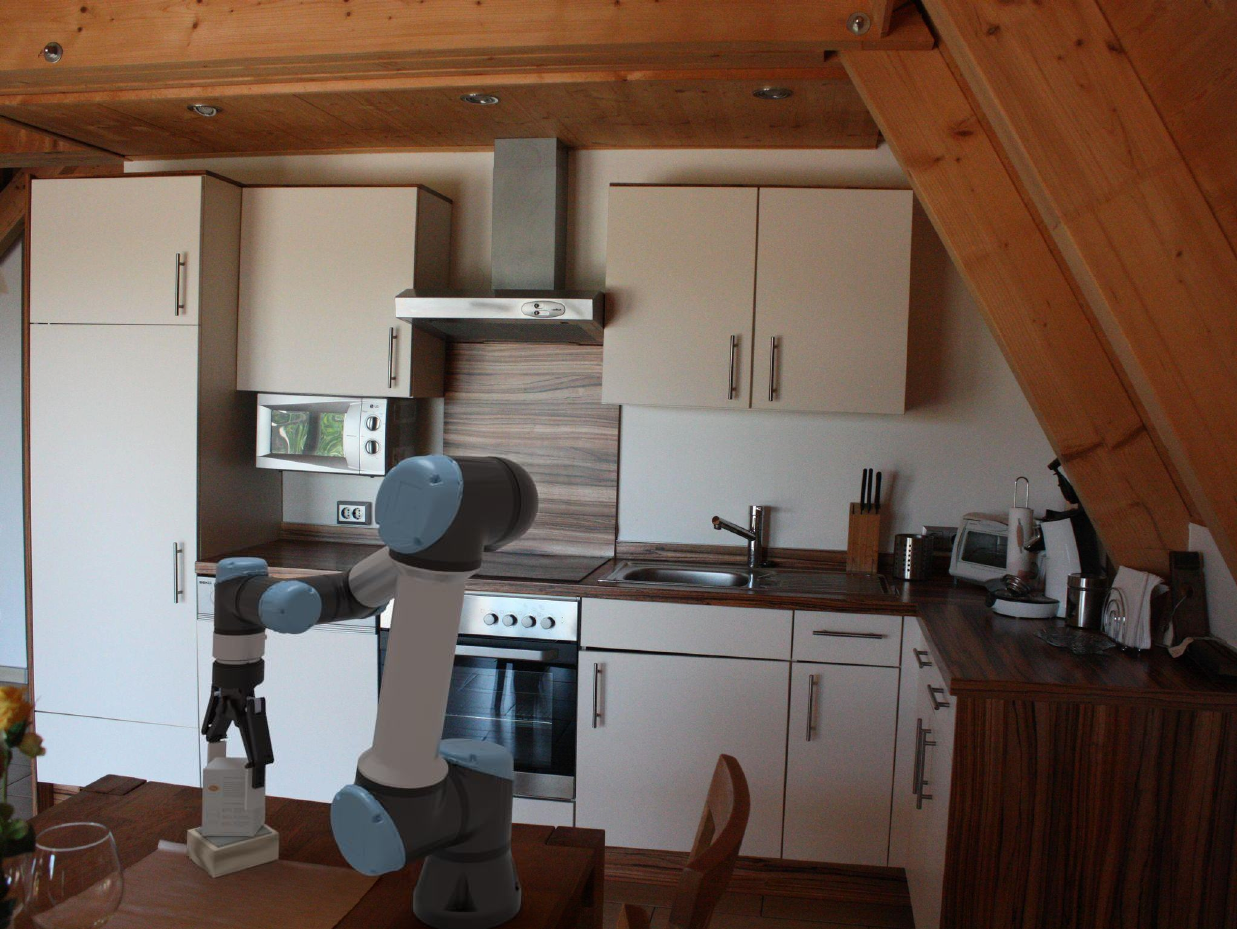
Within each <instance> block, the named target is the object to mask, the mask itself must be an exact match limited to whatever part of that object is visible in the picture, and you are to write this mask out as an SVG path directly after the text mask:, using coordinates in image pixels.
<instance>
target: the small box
mask: <svg viewBox="0 0 1237 929" xmlns="http://www.w3.org/2000/svg"><path fill="white" fill-rule="evenodd" d="M247 763H249V762H248V759H247V757H236V756H235V757H232V756H231V757H228V756H226V757H216V758H215V759H214V760H213V761H212V762H210V763H209V764H208V765H207V764H206V766H204V768H203V769H202V797H201V798H202V800H201V801H202V802H201V804H202V805H201V827H202V836H241V837H253V836H254V835H255V834H256V833H257V831H258V830H259V829H260V828H261V826H262V825H263V824H265V822H266V794H265V795H264V807H260V808H256V809H252V810H248V811H246V810H245V809H244V806H245V776H246V768H245V765H246V764H247ZM266 774H267V765H266V766H265V789H266V787H267V786H266V784H267V782H266V778H267V775H266Z"/></svg>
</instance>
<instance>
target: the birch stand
mask: <svg viewBox="0 0 1237 929" xmlns="http://www.w3.org/2000/svg"><path fill="white" fill-rule="evenodd" d="M186 832H187V833H186V857H188V856H189V857H188V858H189V859H190V860H191V859H192V860H191V861H192V862H194V864H196V865H197V866H198V867H200V869H202V870H203V871H205V872H206V873H207V874H208V875H209V876H211V877H212V879H214V878H218V877H221V876H226V875H229V874H233V873H236V872H239V871H243V870H246V869H249V868H252V867H256V866H259V865H262V864H268V863H269V862H273V861H276V860H279V847H280V832H278V831H276V830H275V829H273V828H272V827H271V826H269V825H268V824H266V823H264V824H263V825H262V826H261V828H260V829H259V830H258V831H257V833H256V834H255V835H254V836H253V837H241V836H202V826H198V827H194V828H191V829H187V831H186Z"/></svg>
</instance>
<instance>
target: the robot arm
mask: <svg viewBox="0 0 1237 929" xmlns="http://www.w3.org/2000/svg"><path fill="white" fill-rule="evenodd" d="M539 500H540V499H539V493H538V489H537V486H536V484H535V482H534V480H533V478H532V477H531V475H530V474H529V472H528V471H527V470H526V469H525V468H523V467H522V466H521V465H520V464H519V463H518V462H515V461H513V460H511V459H509V458H507V457H502V456H494V455H493V456H491V455H489V456H488V455H487V456H475V455H449V454H448V455H446V454H437V453H434V454H429V455H421V456H418V455H417V456H412V457H408V458H405V459H403V460H401V461H400V462H398V464H396V466H394V467H392V468H391V469H390V470H389V471H388V472H387V474H386V475H385V476H384V477H383V480H382V481H381V483H380V486H379V488H378V490H377V494H376V498H375V503H374V522H375V524H376V525H378V526H379V527H378V528H377V534H378V535H379V537H380V539H381V541H382V542H383V543H384V545H385V546H383V547H382V548H381V549H379V550H377V551H376V552H374V553H372V554H371V555H369V556H368V557H366V558H364V559H362V560H361V561H359V562H358V563H357V564H355V565H353V566H351V567H350V568H348V569H346V570H344V571H342V572H336V573H325V574H318V575H307V576H306V575H305V576H298V577H286V578H280V577H272V576H269V575H270V574H269V565H268V563H267V561H266V560H265V559H263V558H259V557H252V556H251V557H250V556H249V557H229V558H227V557H226V558H224V559H221V560H220V561H218V562H217V564H216V569H215V582H214V583H213V588H214V589H213V590H214V595H213V598H214V599H213V600H214V601H213V633H212V655H211V657H213V658H214V661H213V662H212V665H211V666H212V667H211V671H212V673H211V685H210V695H209V699H208V704H207V707H206V711H205V714H204V718H203V721H202V726H201V730H200V734H201V736H205V740H206V741H205V742H206V743H207V756H206V757H207V758H206V766H207V765H208V764H209V763H210V762H212V761H213V760H214V759H215V758H216V757H227V740H225V739H228V738H229V737H228V734H227V733H228V730H229V729H230V727H231V725H232V722H233V724H234V726H235V727H236V728H238V730H239V733H240V737H241V740H242V741H241V742H242V744H243V748H244V751H245V755H246V758H247V759H248V762H249V763H247V764H246V765H245V768H246V776H245V806H244V809H245V810H246V811H248V810H252V809H256V808H260V807H264V795H265V796H266V788H265V766H266V767H267V765H270V764H274V762H275V756H274V755H275V754H274V751H273V745H272V739H271V734H270V733H271V732H270V729H269V728H270V727H269V721H268V717H267V701H266V700H267V699H266V697H265V696H261V697H256V693H255V692H256V691H255V689H256V687H258V686H260V685H261V684H263V683H264V680H265V666H266V664H265V663H266V661H265V659H264V658H263V657H264V656H265V654H266V653H265V650H266V646H265V645H266V640H267V639H268V635H267V634H266V629H268V630H270V631H273V632H275V633H279V634H282V635H286V634H289V635H299V634H303V633H306V632H307V631H309V630H311V628H313V627H314V626H320V625H324V624H330V623H338V622H345V621H346V622H348V621H351V620H365V619H368V618H371V617H375V616H378V615H379V616H380V615H381V614H383V613H384V612H385V611H386V610H387V606H388V605H390V603H391V601H392V600H393V604H392V605H393V606H392V611H391V618H390V625H389V632H388V638H387V644H386V652H385V658H384V665H383V671H382V679H381V684H380V685H381V686H380V690H379V691H380V692H379V699H378V705H377V711H376V718H375V725H374V733H373V738H372V743H371V744H372V746H371V747H369V748H368V749H367V750H365V751H364V752H362V753H361V754H360V756H358V759H357V765H356V771H355V778H354V782H353V783H352V784H345V785H344V786H343V787H342V788H340V790H339V791H338V792H336V793H335V795H334V797H333V798H332V801H331V804H330V805H331V806H330V825H331V829H332V834H333V837H334V840H335V843H336V844H337V846H338V849H339V850H340V853H341V855H342V856H343V858H344V859H345V861H346V862H347V863H348V864H349V865H350V866H351V867H352V868H353V869H354V870H356V871H357V872H359V873H361V874H362V875H365V876H370V877H371V876H372V877H374V876H375V877H376V876H381V875H384V874H386V873H389V872H396V871H399V870H401V869H402V868H403V867H404V866H408V865H410V864H412V863H415V862H417V861H419V860H421V859H424V858H425V859H424V861H423V865H422V868H421V871H420V874H419V878H418V881H417V883H416V885H415V887H414V890H413V895H412V896H413V897H412V898H413V900H412V902H413V903H412V905H413V906H412V910H413V913H414V916H416V918H417V919H418V920H419V921H421V922H422V923H424V924H426V925H427V926H430V927H432V928H435V929H492V928H495V927H498V926H501V925H503V924H505V923H507V922H509V921H510V920H512V919H513V918H515V916H517V914H518V912H519V911H520V910H521V907H522V906H521V905H522V904H521V902H522V887H521V884H520V880H519V876H518V872H517V869H516V866H515V863H514V858H513V855H512V851H511V845H512V844H511V843H512V842H511V840H512V825H513V822H512V821H513V806H514V804H513V803H514V802H513V800H514V784H515V782H514V781H515V775H514V758H513V754H512V753H511V751H510V750H509V749H508V748H506V747H505V746H503V745H501V744H498V743H494V742H492V741H486V740H482V739H474V738H473V739H472V738H446V739H442V736H443V730H444V724H445V720H446V718H445V717H446V712H447V705H448V698H449V693H450V686H451V681H452V680H451V679H452V675H453V667H454V661H455V656H456V654H455V653H456V648H457V641H458V637H459V636H458V635H459V632H460V630H459V629H460V623H461V617H462V612H463V605H464V604H463V603H464V599H465V592H466V586H467V580H468V579H469V578H470V577H472V576H473V575H474V574H476V573H478V572H479V571H480V570H481V568H482V561H483V556H484V554H492V553H495V552H496V551H498V550H500V549H502V548H503V547H505V546H507V545H510V544H511V543H513V542H515V541H517V540H519V539H520V538H521V537H522V536H524V535H525V534H526V533H527V532H528V531H529V530H530V528H532V526H533V524H534V522H536V521H535V520H536V518H537V515H538V511H539V505H540V504H539V503H540V502H539Z"/></svg>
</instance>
